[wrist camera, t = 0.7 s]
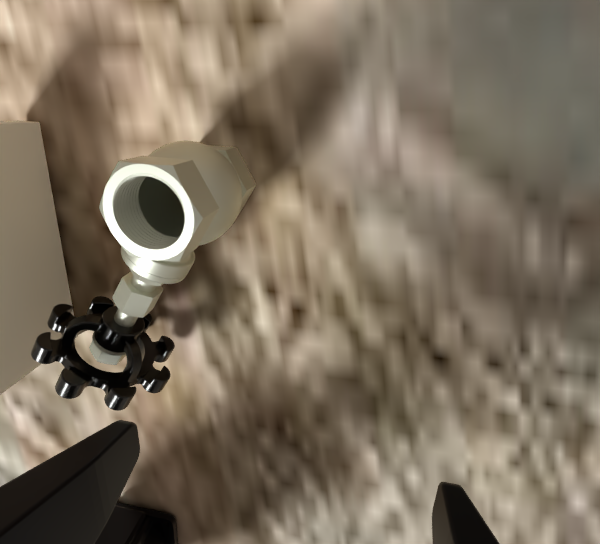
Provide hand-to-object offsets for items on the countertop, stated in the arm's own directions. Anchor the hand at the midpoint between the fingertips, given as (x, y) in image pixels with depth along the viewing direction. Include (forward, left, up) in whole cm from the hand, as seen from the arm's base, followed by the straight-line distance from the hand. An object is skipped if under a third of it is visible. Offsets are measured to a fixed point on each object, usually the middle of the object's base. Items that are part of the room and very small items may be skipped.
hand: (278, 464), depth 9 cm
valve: (0, +8, -13) cm, 15 cm away
